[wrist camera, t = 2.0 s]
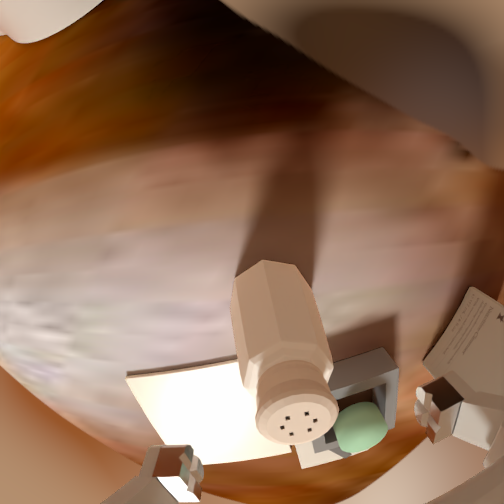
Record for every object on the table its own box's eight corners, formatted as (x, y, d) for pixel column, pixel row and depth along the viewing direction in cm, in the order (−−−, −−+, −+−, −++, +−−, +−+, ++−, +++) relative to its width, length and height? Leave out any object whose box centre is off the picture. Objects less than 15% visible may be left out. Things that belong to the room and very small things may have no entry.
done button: (330, 411, 18) (337, 430, 16) (378, 395, 17) (389, 413, 15) (334, 439, 18) (340, 458, 16) (377, 425, 18) (386, 442, 16)
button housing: (296, 373, 20) (302, 398, 17) (382, 346, 20) (398, 367, 17) (308, 429, 22) (314, 453, 19) (382, 406, 22) (394, 427, 19)
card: (293, 439, 22) (294, 444, 22) (367, 418, 22) (369, 423, 21) (301, 465, 23) (302, 470, 23) (366, 446, 23) (368, 450, 23)
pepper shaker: (239, 341, 20) (237, 475, 9) (219, 268, 18) (191, 378, 8) (316, 324, 19) (373, 445, 9) (304, 249, 18) (378, 337, 8)
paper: (126, 375, 20) (124, 378, 20) (262, 353, 20) (262, 356, 19) (181, 462, 23) (181, 465, 23) (291, 449, 23) (291, 451, 22)
